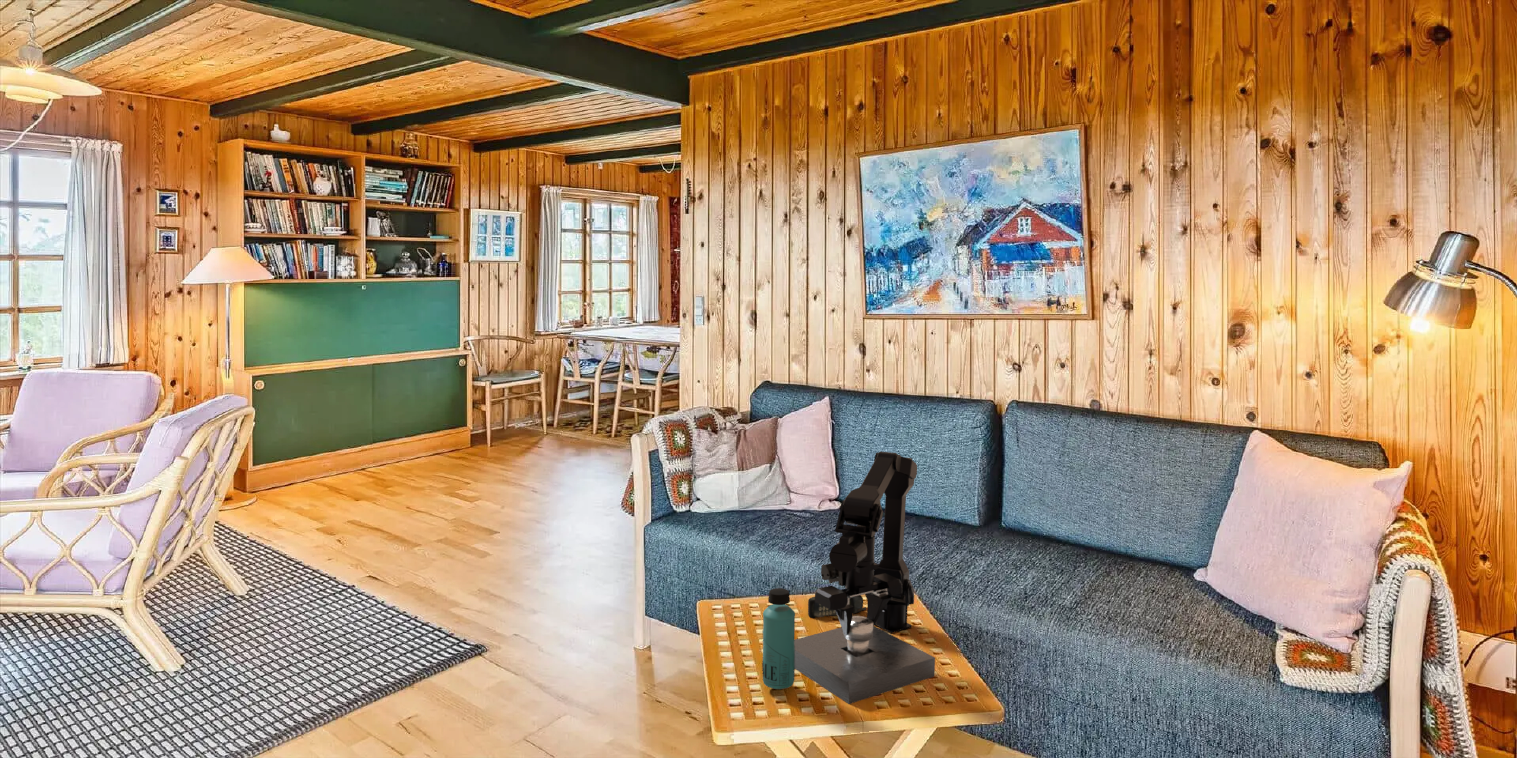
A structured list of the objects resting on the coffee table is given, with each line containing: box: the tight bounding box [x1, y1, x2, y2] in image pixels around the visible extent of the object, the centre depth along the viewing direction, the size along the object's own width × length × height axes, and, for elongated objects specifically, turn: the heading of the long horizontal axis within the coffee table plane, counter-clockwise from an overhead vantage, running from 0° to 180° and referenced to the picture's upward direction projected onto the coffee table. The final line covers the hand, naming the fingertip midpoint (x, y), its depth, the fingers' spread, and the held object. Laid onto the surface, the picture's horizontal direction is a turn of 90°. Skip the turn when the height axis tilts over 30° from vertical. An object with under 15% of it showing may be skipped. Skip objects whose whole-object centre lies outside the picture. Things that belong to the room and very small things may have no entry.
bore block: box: [794, 625, 936, 705], centre depth 180 cm, size 22×22×4 cm
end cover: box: [843, 615, 873, 657], centre depth 180 cm, size 6×6×7 cm
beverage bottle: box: [761, 587, 796, 690], centre depth 170 cm, size 6×7×20 cm
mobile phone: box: [807, 595, 867, 619], centre depth 210 cm, size 5×3×15 cm
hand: (858, 631), depth 180 cm, fingers closed on end cover, 6 cm apart
